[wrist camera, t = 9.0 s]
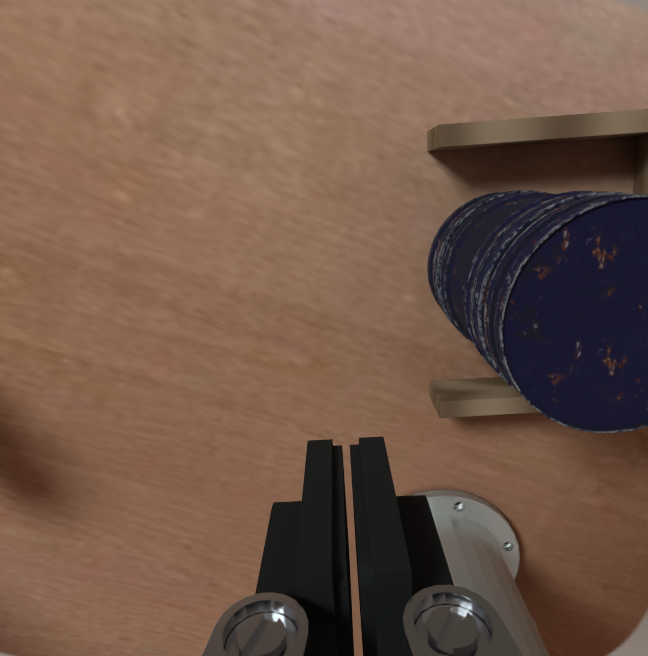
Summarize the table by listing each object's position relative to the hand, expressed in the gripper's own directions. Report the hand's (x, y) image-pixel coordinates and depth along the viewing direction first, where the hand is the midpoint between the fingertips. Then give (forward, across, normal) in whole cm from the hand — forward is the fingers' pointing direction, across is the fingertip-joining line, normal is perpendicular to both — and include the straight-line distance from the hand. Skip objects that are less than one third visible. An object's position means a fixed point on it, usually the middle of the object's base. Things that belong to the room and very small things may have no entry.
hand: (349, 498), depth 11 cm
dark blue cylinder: (+24, -11, -1) cm, 27 cm away
